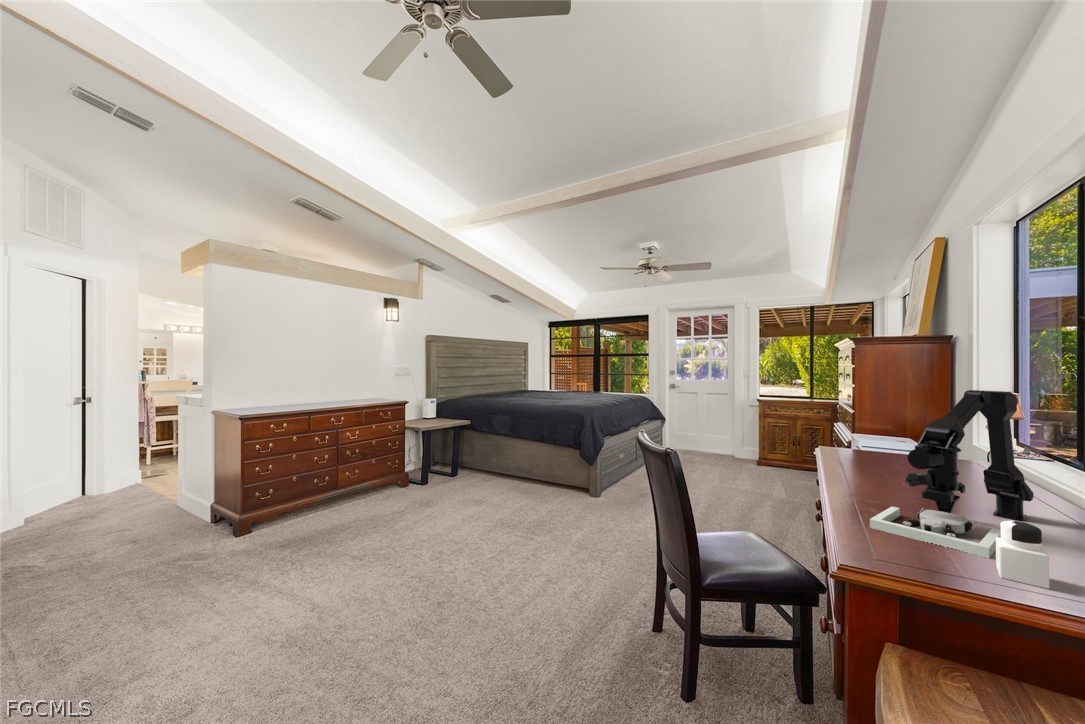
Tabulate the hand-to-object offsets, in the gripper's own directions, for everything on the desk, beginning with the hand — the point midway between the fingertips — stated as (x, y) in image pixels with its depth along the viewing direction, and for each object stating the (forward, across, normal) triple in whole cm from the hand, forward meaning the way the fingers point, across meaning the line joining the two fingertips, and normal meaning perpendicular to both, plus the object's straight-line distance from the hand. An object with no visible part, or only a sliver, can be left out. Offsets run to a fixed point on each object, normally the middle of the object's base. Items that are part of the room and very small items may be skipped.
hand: (944, 519), depth 124 cm
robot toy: (+2, +9, +1) cm, 9 cm away
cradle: (+2, +11, 0) cm, 11 cm away
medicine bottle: (+2, +29, +18) cm, 34 cm away
